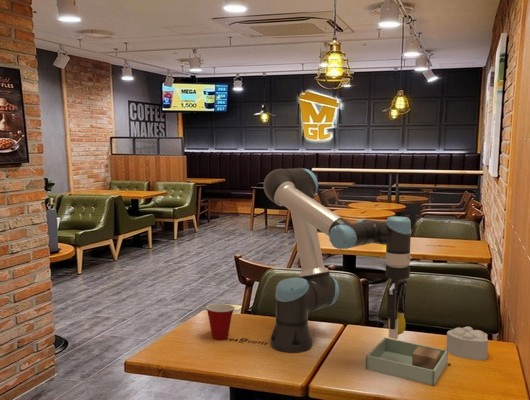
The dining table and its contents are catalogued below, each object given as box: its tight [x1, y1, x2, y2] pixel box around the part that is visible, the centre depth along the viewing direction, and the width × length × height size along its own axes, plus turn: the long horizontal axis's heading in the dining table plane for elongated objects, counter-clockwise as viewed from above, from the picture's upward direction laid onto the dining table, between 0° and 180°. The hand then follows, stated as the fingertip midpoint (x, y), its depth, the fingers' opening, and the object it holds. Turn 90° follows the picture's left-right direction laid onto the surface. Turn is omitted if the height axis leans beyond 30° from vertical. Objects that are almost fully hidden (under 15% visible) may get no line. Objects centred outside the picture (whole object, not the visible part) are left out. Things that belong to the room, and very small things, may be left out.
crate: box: [365, 337, 449, 386], centre depth 160 cm, size 21×18×5 cm
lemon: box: [387, 313, 407, 336], centre depth 161 cm, size 6×6×8 cm
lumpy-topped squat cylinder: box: [445, 326, 489, 361], centre depth 171 cm, size 10×13×9 cm
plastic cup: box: [205, 303, 235, 341], centre depth 186 cm, size 11×11×12 cm
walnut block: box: [412, 346, 441, 370], centre depth 157 cm, size 7×7×6 cm
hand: (396, 334), depth 161 cm, fingers closed on lemon, 5 cm apart
